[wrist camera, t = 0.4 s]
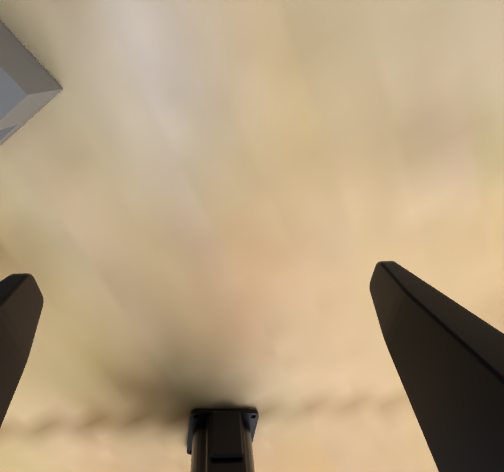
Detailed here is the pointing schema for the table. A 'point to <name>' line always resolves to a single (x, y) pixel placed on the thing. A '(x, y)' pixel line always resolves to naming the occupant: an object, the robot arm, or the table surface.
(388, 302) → the robot arm
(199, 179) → the table surface
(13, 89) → the gray notched block
